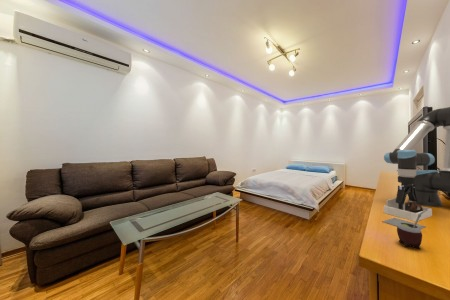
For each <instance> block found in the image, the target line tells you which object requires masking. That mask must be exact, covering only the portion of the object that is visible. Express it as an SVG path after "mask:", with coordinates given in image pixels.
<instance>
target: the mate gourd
mask: <svg viewBox="0 0 450 300" xmlns="http://www.w3.org/2000/svg"><path fill="white" fill-rule="evenodd" d="M426 211H427V210H425V211H423V212H421V213H420V214H418V217H417V219H416V221H414V223H415V224H414V225H413V224H409V223H400V224H399V225H398V227H397V226H396V233H397V236H398V239H399V240H398V242H399V243H400V244H401V243H402V244H404V245H403V247H404V248H409V247H412V248H415V249H418V250H421V244H422V239H423V234H422V230H421V229H419V227H417V226H416V225H417V224H418V222H419V221H418V220H419V218H420V217H421V215H422V214H423V213H424V212H426Z"/></svg>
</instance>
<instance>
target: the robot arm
mask: <svg viewBox="0 0 450 300" xmlns="http://www.w3.org/2000/svg"><path fill="white" fill-rule="evenodd" d="M438 127H442V128H443V129H444V130H445V131H446V132H445V133H446V134H445V143H444V144H445V146H444V147H445V148H444V157H443V167H442V168H440V169H439V171H438V170H436V169H425V170H424V169H422V170H419V169H417V167H418V166H422V167H423V166H425V167H426V166H431V165H433V164H434V163H435V161H436V159H435V156H434V155H433V154H432V153H428V152H417V151H416V150H415V148H416V147H418V145H419V144H420V143H421V142H422V140H423V139H424V138H425V137H426V136H427V134H428V133H429V132H432V131H434V129H435V128H438ZM383 160H384V162H386V163H387V164H392V165H397V169H396V172H397V175H398V176H397V182H398V183H400V185H397V192H396V197H395V198H396V203H398V209H401V210H405V204H404V203H406V198H407V196H408V202H412V201H414V202H416V203H417V204H419V205H420V206H423V207H424V206H425V207H435V208H439V207H442V206H443V202H442V200H441V198H440V195H439V192H444V193H450V106H449V107H443V108H442V107H441V108H437V109H434V110H431V111H429V112H427V113H426V114H424V115H423V116H421V117H420V118H419V119H418V120H417V121H416V122H415V123H414V127H413V128H412V129H411V130H410V131H409V133H408V134H407V135H406V136H405V137H404V138H403V139H402V141H401V142H400V143H399V144H398V145H397V146H396V147H395V148H394V150H393V151H392V152H391V151H390V152H389V151H388V152H385V153H384V156H383Z"/></svg>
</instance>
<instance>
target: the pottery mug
mask: <svg viewBox="0 0 450 300" xmlns="http://www.w3.org/2000/svg"><path fill="white" fill-rule="evenodd" d="M404 203H405V211H409V212H413V213H418V212H421V211H423V208H422V207H423V206H422V205H419V204H417V203H416V202H414V201H412V202H409V201H408V202H406V201H405V202H404ZM417 207H420V210H417Z"/></svg>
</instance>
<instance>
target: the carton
mask: <svg viewBox="0 0 450 300" xmlns="http://www.w3.org/2000/svg"><path fill="white" fill-rule="evenodd" d="M405 203H406V202H404V204H405ZM421 207H422V208H423V211H425V210H427V211H426V212H424V213H423V214H422V215H421V217H420V218H419V220H418V222H419V221H422V220H425V219H427V218H430V217H433V208H430V207H427V206H425V207H424V206H421ZM417 210H420V207H417ZM423 211H421V212H423ZM421 212H418V213H413V212H409V211H405V210H401V209H398V203H396V197H394V198H390V199H386V205H383V214H387V215H390V216H393V217H394V216H395V217H396V218H397V217H398V218H400V219H403V220H407V221H412V222H413V221H414V222H416V219H417V217H418V214H420V213H421Z"/></svg>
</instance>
